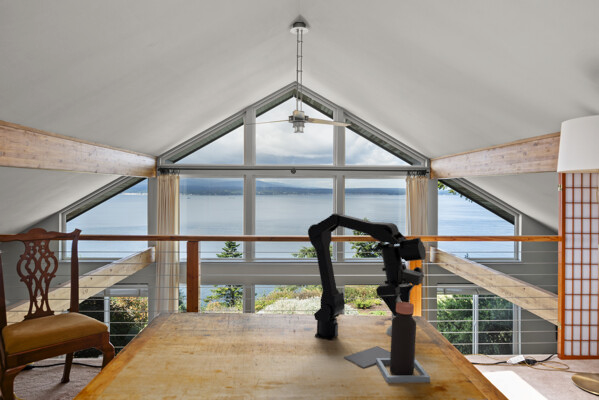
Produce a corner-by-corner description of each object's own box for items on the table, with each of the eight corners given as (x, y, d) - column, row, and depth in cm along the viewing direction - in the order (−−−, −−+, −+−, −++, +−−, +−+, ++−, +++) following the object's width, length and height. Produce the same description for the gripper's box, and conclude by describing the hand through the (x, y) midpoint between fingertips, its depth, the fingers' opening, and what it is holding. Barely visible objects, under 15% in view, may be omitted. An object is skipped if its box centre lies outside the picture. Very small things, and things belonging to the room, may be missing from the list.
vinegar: (395, 364, 127) (398, 299, 125) (417, 371, 123) (420, 303, 122) (385, 373, 121) (388, 304, 120) (408, 380, 117) (412, 309, 116)
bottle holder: (387, 382, 116) (387, 377, 115) (375, 363, 127) (376, 358, 127) (429, 382, 116) (430, 377, 116) (414, 362, 128) (414, 358, 128)
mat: (344, 357, 130) (344, 356, 130) (377, 347, 139) (377, 345, 139) (363, 368, 124) (363, 367, 124) (397, 356, 133) (397, 355, 133)
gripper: (406, 265, 121) (416, 319, 120) (427, 256, 137) (436, 304, 135) (371, 268, 127) (380, 320, 126) (394, 259, 143) (403, 305, 142)
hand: (401, 312), depth 132 cm, fingers open, 9 cm apart
